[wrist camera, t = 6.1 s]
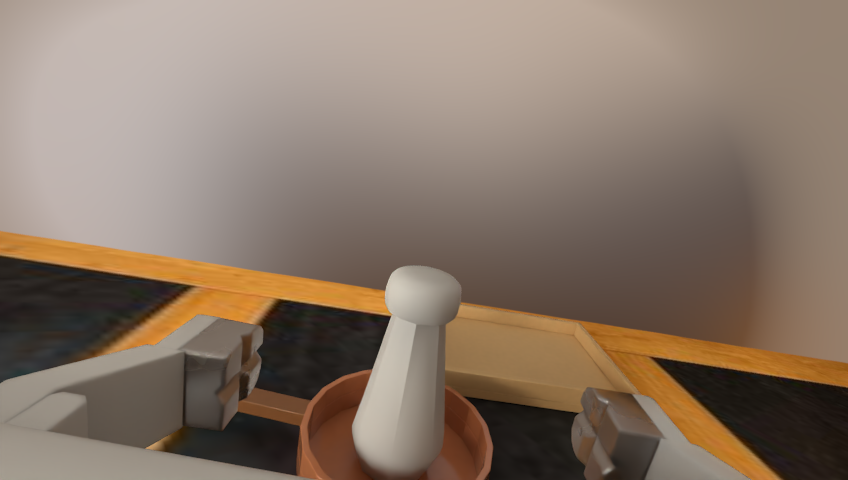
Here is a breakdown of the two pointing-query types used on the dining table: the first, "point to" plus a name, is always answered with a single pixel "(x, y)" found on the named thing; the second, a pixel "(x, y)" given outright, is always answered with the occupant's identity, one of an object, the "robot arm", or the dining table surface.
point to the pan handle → (274, 406)
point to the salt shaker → (408, 377)
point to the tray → (526, 359)
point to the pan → (335, 451)
